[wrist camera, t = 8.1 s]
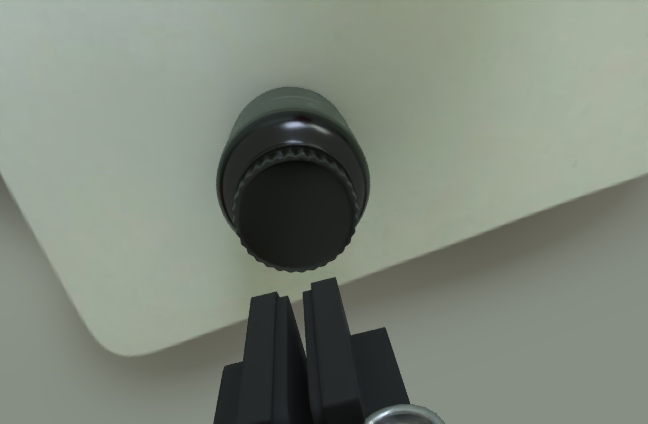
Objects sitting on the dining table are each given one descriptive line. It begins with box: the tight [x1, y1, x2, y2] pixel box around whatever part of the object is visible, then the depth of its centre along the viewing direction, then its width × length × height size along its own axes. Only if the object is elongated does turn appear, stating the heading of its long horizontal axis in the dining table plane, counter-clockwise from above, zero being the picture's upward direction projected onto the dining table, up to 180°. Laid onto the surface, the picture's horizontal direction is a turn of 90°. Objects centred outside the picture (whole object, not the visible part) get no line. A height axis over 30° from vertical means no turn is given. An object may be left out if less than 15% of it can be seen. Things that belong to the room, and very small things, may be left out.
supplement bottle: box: [216, 87, 370, 273], centre depth 26 cm, size 7×7×12 cm
